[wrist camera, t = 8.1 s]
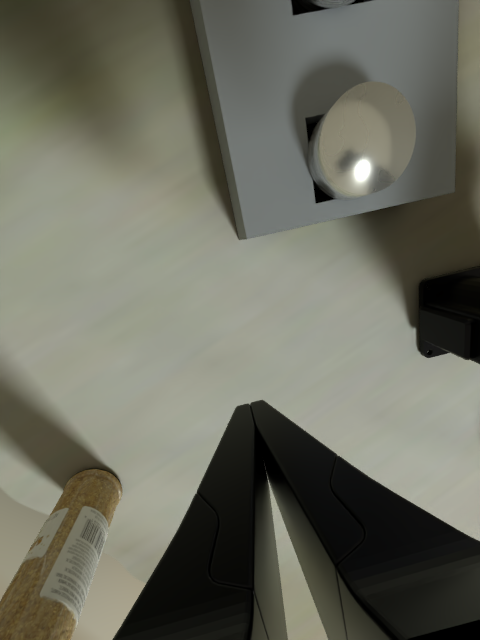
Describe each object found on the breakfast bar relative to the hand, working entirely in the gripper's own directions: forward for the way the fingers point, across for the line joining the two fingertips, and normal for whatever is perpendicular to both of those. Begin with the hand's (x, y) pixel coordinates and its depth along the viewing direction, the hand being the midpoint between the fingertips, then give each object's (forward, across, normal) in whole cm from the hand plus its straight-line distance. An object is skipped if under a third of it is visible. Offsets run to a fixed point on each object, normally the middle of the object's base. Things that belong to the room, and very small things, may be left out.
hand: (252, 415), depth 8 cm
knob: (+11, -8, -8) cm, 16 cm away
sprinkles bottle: (+12, +14, +12) cm, 22 cm away
